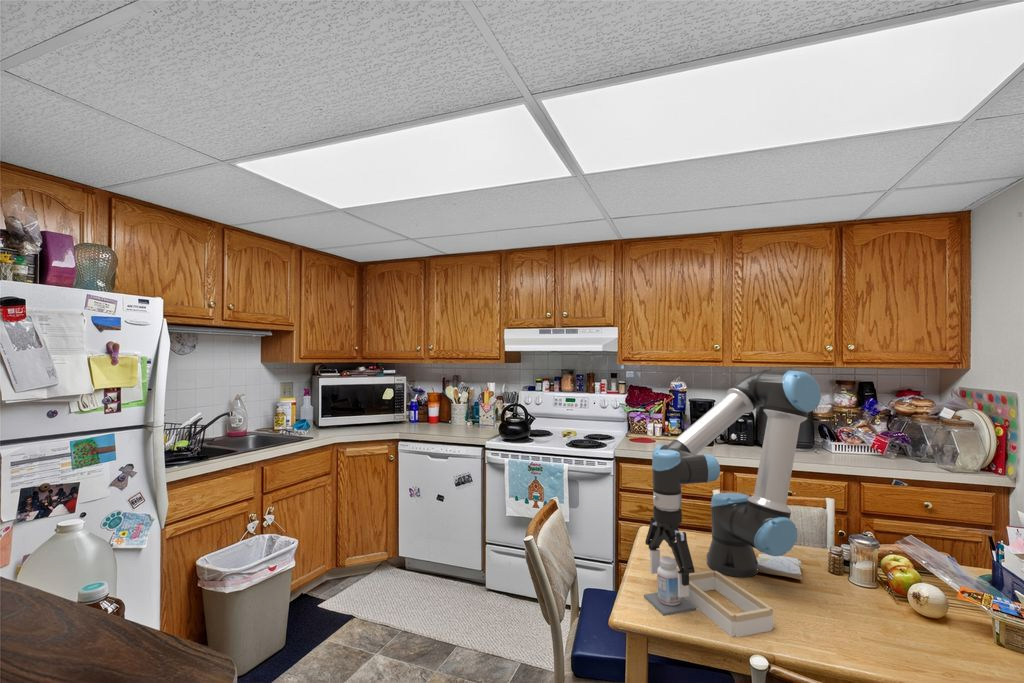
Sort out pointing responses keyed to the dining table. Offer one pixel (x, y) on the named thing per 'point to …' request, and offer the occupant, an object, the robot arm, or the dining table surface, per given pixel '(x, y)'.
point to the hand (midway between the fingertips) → (668, 584)
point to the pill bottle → (668, 581)
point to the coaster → (667, 609)
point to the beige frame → (739, 624)
